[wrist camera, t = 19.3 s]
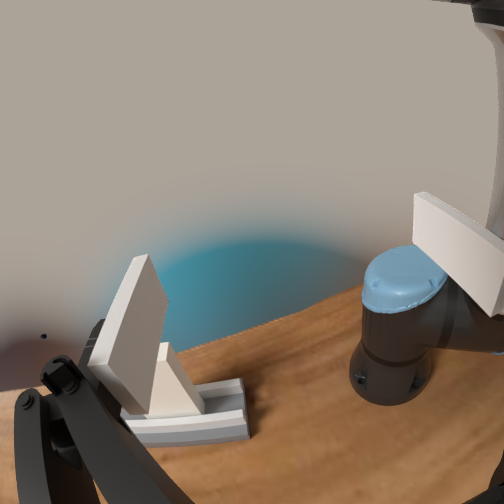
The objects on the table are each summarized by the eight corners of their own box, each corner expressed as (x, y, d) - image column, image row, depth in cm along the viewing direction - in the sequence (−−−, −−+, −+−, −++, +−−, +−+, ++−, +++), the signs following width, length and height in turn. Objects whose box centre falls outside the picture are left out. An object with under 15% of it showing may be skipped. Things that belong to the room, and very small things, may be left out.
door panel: (204, 398, 47) (169, 337, 39) (204, 418, 43) (165, 360, 35) (153, 404, 47) (110, 346, 39) (151, 423, 43) (103, 367, 35)
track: (244, 383, 51) (238, 369, 49) (250, 438, 40) (244, 427, 38) (130, 397, 51) (119, 384, 49) (121, 446, 40) (108, 435, 38)
